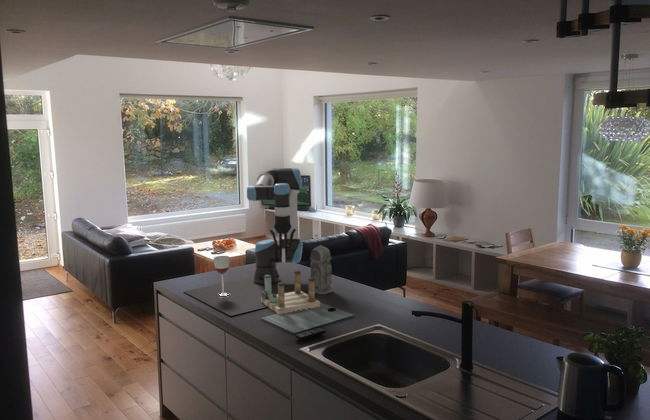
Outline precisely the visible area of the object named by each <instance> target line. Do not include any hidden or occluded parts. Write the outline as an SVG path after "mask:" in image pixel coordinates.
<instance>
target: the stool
mask: <svg viewBox="0 0 650 420" xmlns="http://www.w3.org/2000/svg"><path fill="white" fill-rule="evenodd" d="M293 274H294V291H289V292H285V283H284V282H277V294H273V297H277V296H278V302H276V303H273V302H270V299H269V298H266V293H265V290H262V291H261V297H260V302H261V304H263V305H265V306H266V307H267V308H269V309H271V311H272V312H274V313H275V314H277V315H283V313H284V314H289V313H294V312H293V311H295V312H298V311H297V310H300V311H303V310H302V309H306V310H309V309H308V308H311V309H315V308H316V307H317V308H321V301H319V300H318V299H316V298H315V297H316V293H315V278H311V277H309V278H307V281H308V287H307V289H308V293H305V292H304V291H302V289H301V287H302V286H301V283H302V282H301V281H302V280H301V270H294V272H293ZM288 312H289V313H288Z"/></svg>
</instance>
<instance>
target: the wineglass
mask: <svg viewBox="0 0 650 420" xmlns="http://www.w3.org/2000/svg"><path fill="white" fill-rule="evenodd" d="M213 264H214V269H215V271H216V272H217V273H218V274H220V275H221V292H220V293H221V294H219V293H218V294H219V295H220V296H227V295H229V294H230V293H229V294H227V293H228V292H224V291H225V290H224V289H225V288H224V287H225V286H224V274H225V273H226V272H228V270H229V269H230V256H228V255H218V256H215V257H213ZM227 297H228V296H227Z"/></svg>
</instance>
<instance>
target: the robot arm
mask: <svg viewBox="0 0 650 420" xmlns="http://www.w3.org/2000/svg"><path fill="white" fill-rule="evenodd" d="M301 175H302V174H301V171H300V169H299V168H296V167H295V168H293V167H291V168H290V167H286V168H283V167H282V168H270V169H267V170H264V171H262V172H261V173H260V174H259V175H258V176H257V178H256V183H255V184H254V185H248V186H247V188H246V197H247V200H248V201H253V202H255V201H258V202H262V201H274V215H275V216H274V226H273V227H272V228H271V229H269V231H270V233H271V235H272V239H263V240H261V241H258V242H256V243H255V245H254V246H255V249H254V252H255V270H254V274H253V276H252V282H253V283H254V282H255V283H254V284H257V283H258V284H260V285H265V278H264V276H265V275H271V285H272V284H277V283H280V277H281V276H280V274H279V271H278V269H277V268H278V267H277V264H286V263H287V264H288V263H289V264H293V263H295V264H296V263H299V262H300V261H301V259H302V253H303V245H304V243H303V242H302V241H301V238H300V237H299V236H298V194H300V191H301V189H302V188H303V182H302V176H301ZM275 232H277V234H278V241H277V237H276V234H275ZM258 284H257V285H258Z"/></svg>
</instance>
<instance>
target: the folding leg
mask: <svg viewBox="0 0 650 420" xmlns="http://www.w3.org/2000/svg"><path fill="white" fill-rule="evenodd" d="M264 278H265V284H264V291H265V293H266V298H269V299H270V302H273V303H276V302H278V296H277V297H273V295H274V294H273V293H272V284H271V275H265V276H264Z"/></svg>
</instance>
